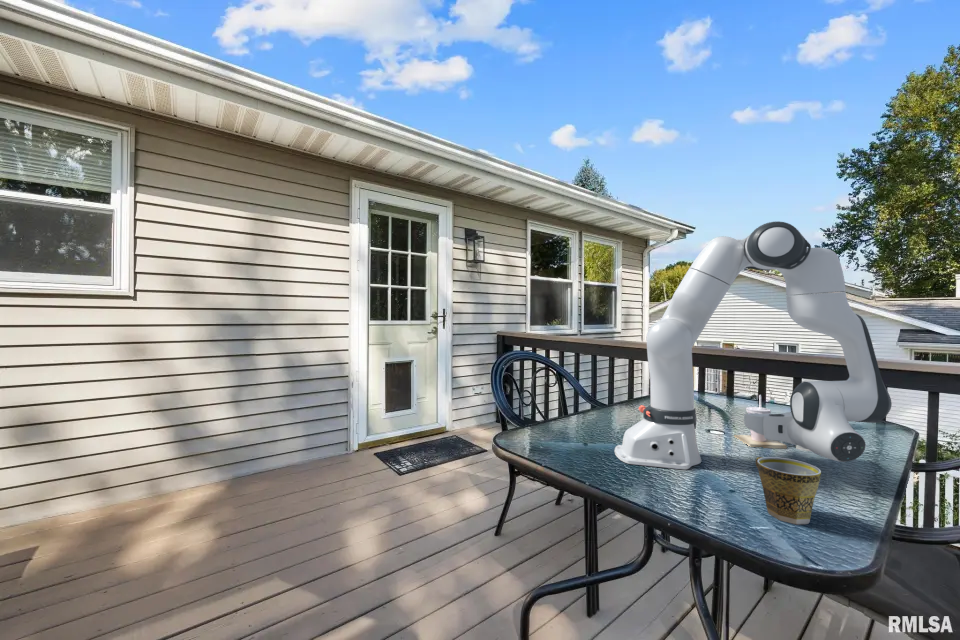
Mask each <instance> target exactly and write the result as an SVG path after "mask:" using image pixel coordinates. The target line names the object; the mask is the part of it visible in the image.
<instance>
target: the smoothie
mask: <svg viewBox="0 0 960 640" xmlns="http://www.w3.org/2000/svg"><path fill="white" fill-rule="evenodd" d="M758 399H759V401H758V404H759V405H758V406H748V407H746V408H745V409H746V410H745V411H746V412H747V413H749V414H752V413H758V414H772V411H771V409H770V408H766V407H762V394H758ZM749 431H750V435H751V437H752V440H755V441H761V442H764V441H766V438H764V435H762V434H758V433H756V432H754V431H752V430H750V429H749Z"/></svg>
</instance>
